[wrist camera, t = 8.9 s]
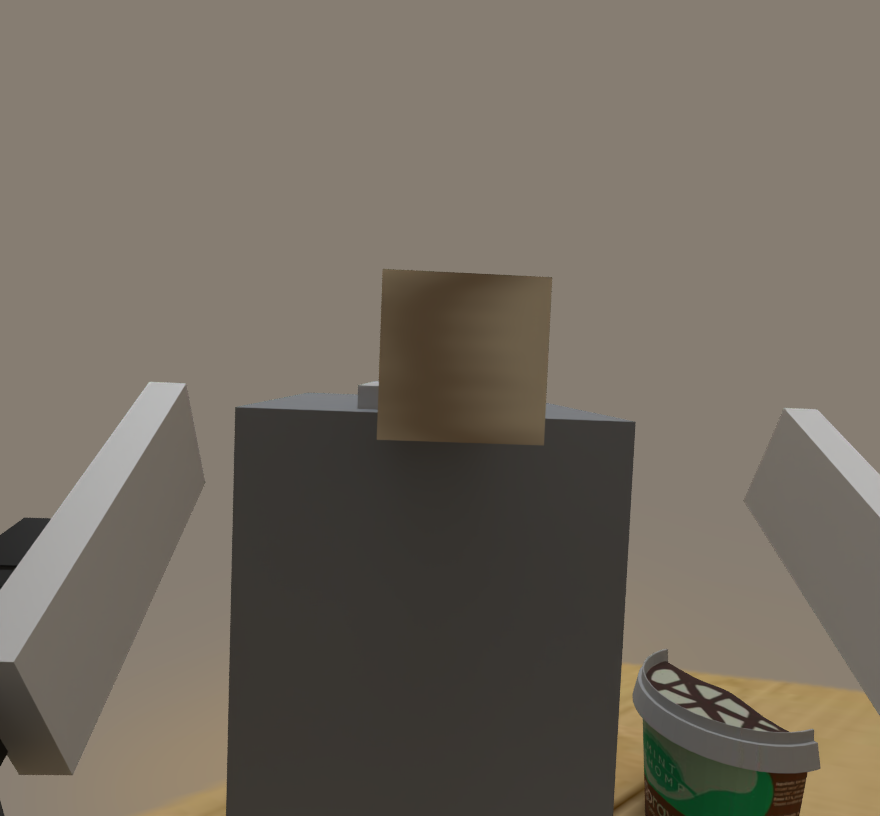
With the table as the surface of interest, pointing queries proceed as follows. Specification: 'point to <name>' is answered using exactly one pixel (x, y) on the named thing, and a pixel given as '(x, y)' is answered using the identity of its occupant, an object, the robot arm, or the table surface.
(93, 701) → the robot arm
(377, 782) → the cabinet
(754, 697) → the table surface
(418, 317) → the switch bar
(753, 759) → the food container
